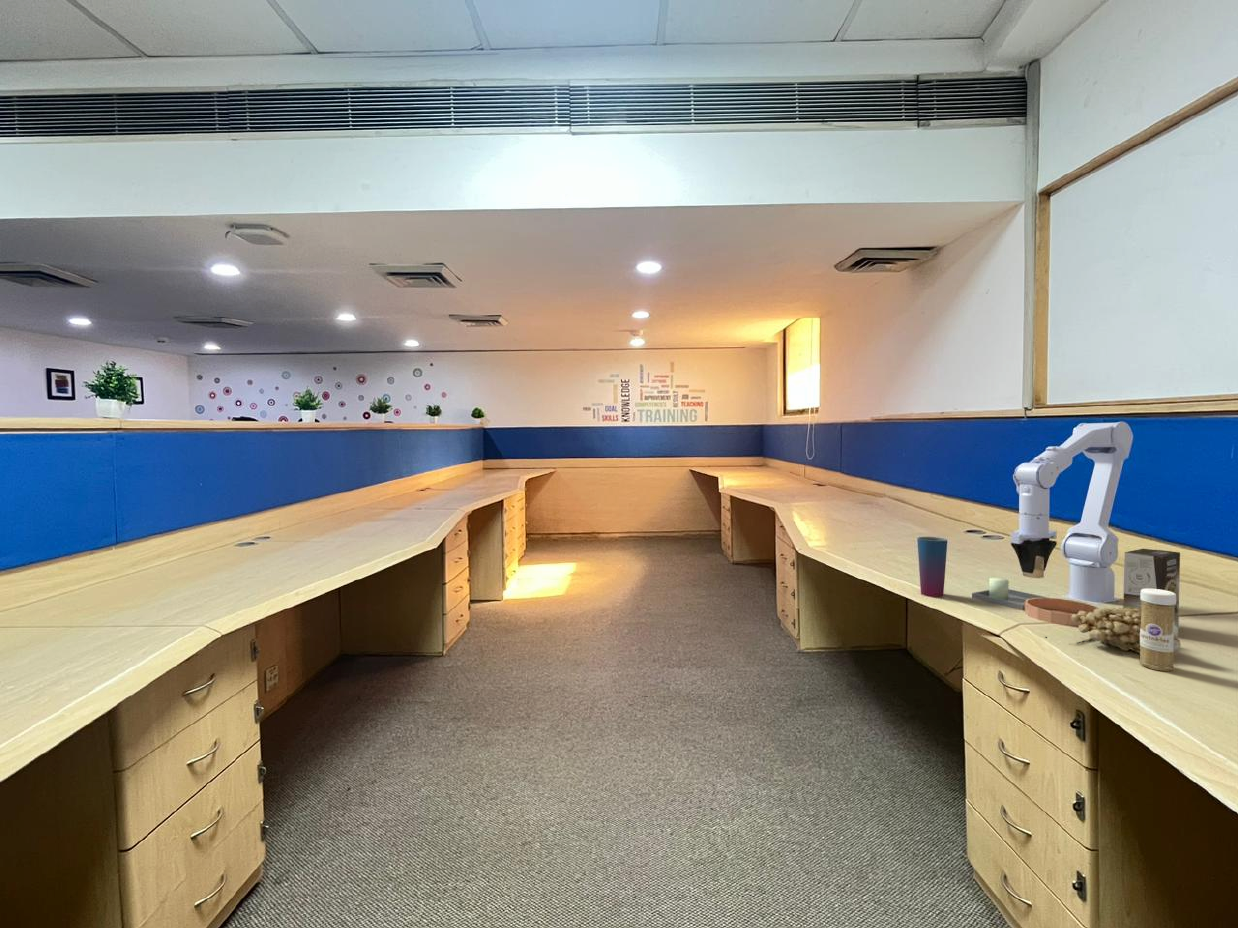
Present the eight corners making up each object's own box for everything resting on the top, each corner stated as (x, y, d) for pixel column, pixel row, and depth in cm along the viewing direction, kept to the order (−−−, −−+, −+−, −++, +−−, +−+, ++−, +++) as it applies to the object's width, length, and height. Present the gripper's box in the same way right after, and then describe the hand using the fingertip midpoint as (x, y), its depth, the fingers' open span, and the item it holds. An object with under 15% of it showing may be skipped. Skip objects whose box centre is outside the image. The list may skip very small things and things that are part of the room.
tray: (1000, 594, 148) (1000, 587, 148) (1052, 605, 137) (1052, 598, 137) (971, 600, 143) (971, 592, 143) (1022, 612, 132) (1023, 604, 132)
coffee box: (1161, 635, 116) (1162, 556, 115) (1121, 626, 121) (1122, 551, 121) (1180, 628, 120) (1182, 551, 119) (1141, 619, 126) (1142, 547, 125)
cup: (951, 600, 143) (951, 541, 142) (921, 599, 144) (921, 540, 143) (941, 593, 149) (942, 536, 149) (913, 592, 151) (913, 536, 150)
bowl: (1046, 607, 136) (1046, 595, 136) (1113, 623, 124) (1114, 609, 124) (1012, 615, 130) (1012, 602, 130) (1079, 632, 118) (1079, 618, 118)
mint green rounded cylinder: (995, 594, 145) (995, 577, 145) (1012, 598, 142) (1012, 580, 142) (985, 596, 144) (985, 578, 144) (1002, 600, 140) (1002, 582, 140)
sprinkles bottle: (1139, 667, 100) (1141, 591, 99) (1138, 659, 103) (1139, 586, 103) (1176, 674, 97) (1177, 595, 96) (1173, 665, 100) (1175, 590, 100)
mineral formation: (1188, 663, 101) (1085, 649, 106) (1148, 650, 114) (1058, 637, 119) (1188, 617, 102) (1086, 605, 107) (1149, 609, 114) (1059, 598, 120)
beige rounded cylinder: (1029, 573, 137) (1029, 554, 137) (1047, 576, 134) (1047, 557, 134) (1018, 575, 136) (1019, 556, 136) (1037, 578, 132) (1037, 559, 132)
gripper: (1034, 510, 141) (1033, 564, 141) (997, 514, 135) (996, 571, 135) (1066, 513, 134) (1066, 570, 135) (1028, 517, 128) (1028, 577, 129)
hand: (1033, 571), depth 135 cm, fingers closed on beige rounded cylinder, 4 cm apart
